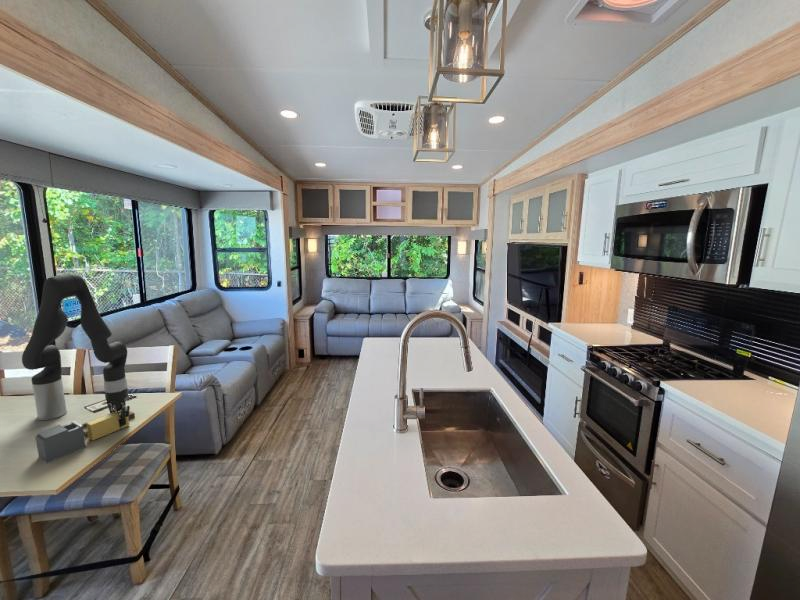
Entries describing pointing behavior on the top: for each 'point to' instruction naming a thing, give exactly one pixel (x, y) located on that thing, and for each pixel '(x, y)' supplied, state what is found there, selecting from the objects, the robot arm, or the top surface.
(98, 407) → the chocolate bar
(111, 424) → the grey-banded yellow bar
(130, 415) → the tray
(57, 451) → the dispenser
